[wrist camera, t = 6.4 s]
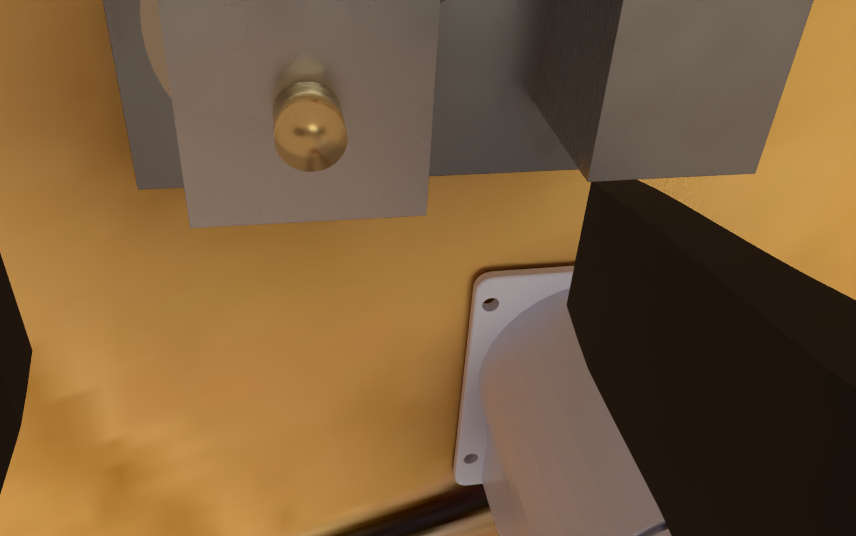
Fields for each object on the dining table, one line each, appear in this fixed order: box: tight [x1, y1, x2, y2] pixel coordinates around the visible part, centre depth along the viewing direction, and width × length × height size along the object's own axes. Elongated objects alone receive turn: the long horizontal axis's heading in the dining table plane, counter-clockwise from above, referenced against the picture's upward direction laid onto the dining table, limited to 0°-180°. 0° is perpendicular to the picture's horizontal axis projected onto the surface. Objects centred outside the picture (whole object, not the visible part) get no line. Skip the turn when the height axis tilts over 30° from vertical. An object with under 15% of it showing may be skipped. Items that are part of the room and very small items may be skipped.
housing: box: [157, 0, 440, 228], centre depth 16 cm, size 4×4×6 cm
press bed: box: [103, 0, 814, 190], centre depth 17 cm, size 8×14×4 cm, turn 87°
